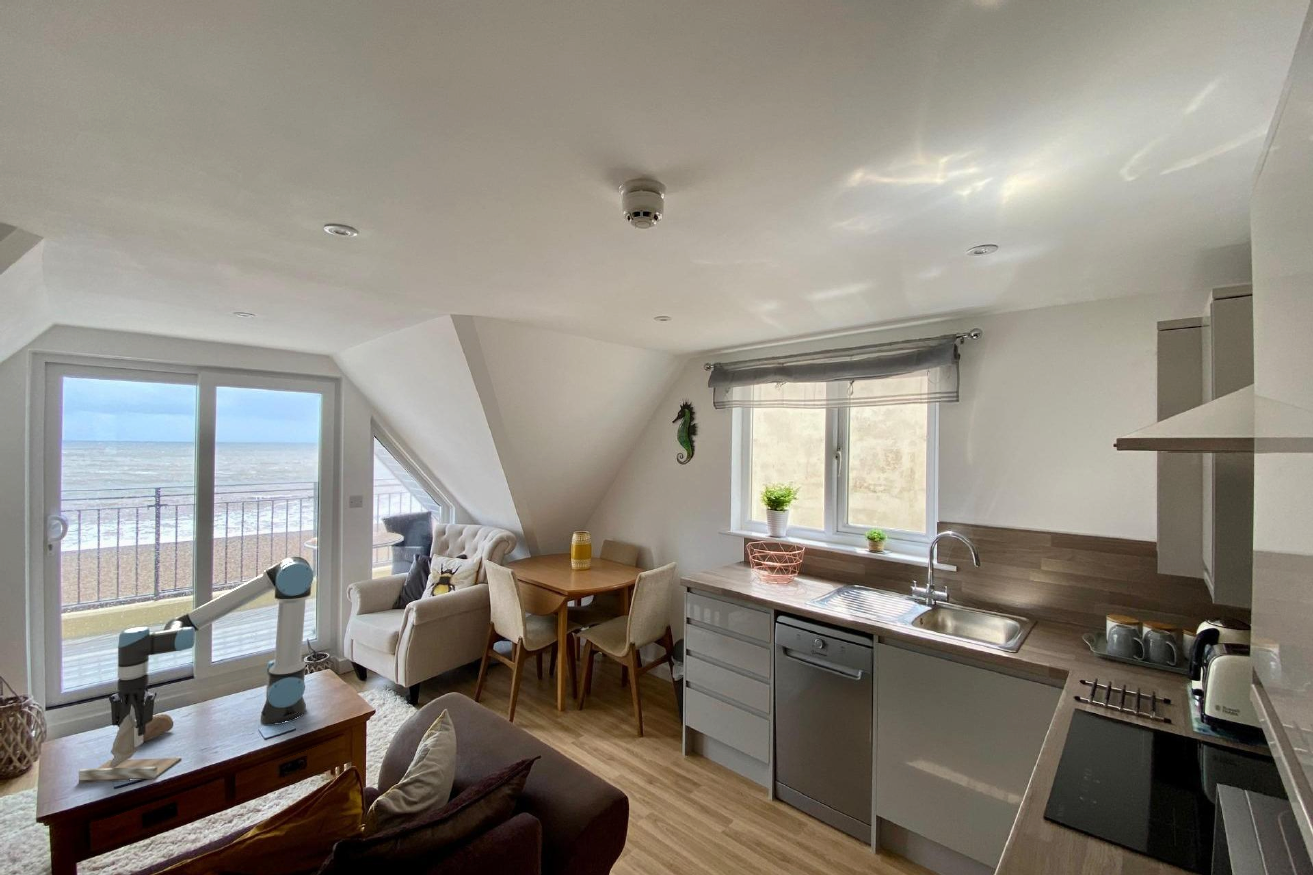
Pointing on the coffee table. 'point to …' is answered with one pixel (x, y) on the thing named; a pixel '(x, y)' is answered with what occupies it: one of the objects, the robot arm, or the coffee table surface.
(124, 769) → the plank
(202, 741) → the coffee table surface
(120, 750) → the artifact
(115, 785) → the coffee table surface
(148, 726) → the stone
